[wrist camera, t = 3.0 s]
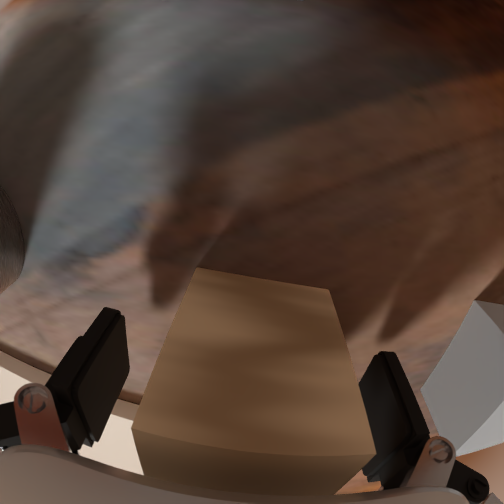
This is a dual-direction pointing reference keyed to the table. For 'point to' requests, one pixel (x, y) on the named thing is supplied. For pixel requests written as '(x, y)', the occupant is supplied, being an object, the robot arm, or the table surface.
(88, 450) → the cream tile
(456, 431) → the slate block
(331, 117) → the table surface
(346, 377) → the oak block
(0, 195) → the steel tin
